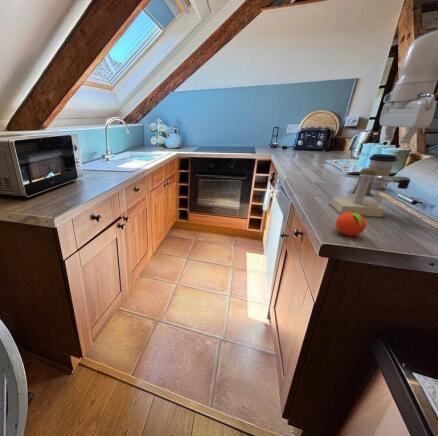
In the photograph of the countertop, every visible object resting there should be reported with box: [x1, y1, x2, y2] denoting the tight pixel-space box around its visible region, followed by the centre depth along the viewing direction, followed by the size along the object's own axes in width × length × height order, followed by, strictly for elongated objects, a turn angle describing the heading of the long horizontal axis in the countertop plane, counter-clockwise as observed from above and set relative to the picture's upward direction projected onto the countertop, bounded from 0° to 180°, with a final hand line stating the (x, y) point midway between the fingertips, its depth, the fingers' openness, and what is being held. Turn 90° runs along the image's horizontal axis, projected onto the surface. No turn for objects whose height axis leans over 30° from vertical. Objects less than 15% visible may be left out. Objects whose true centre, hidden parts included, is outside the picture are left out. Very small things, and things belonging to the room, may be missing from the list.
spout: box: [357, 173, 411, 190], centre depth 84 cm, size 14×4×4 cm, turn 71°
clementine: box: [335, 212, 367, 237], centre depth 70 cm, size 8×7×7 cm
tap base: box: [330, 181, 386, 218], centre depth 87 cm, size 12×10×11 cm
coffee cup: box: [368, 153, 398, 190], centre depth 113 cm, size 9×9×15 cm
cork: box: [352, 167, 376, 196], centre depth 106 cm, size 6×6×11 cm
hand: (395, 141), depth 80 cm, fingers open, 8 cm apart
